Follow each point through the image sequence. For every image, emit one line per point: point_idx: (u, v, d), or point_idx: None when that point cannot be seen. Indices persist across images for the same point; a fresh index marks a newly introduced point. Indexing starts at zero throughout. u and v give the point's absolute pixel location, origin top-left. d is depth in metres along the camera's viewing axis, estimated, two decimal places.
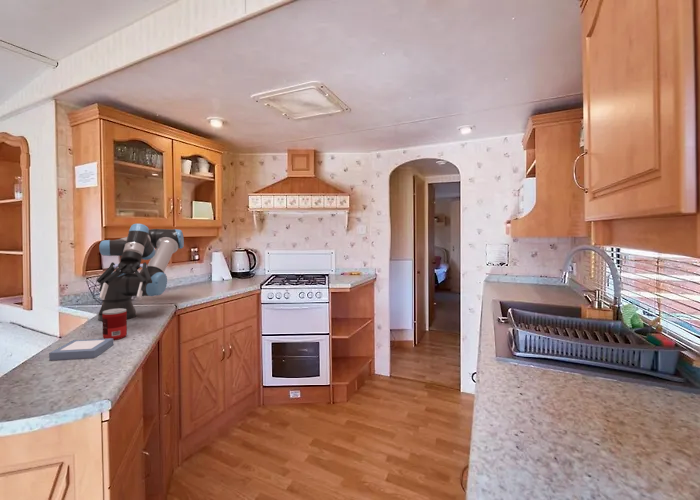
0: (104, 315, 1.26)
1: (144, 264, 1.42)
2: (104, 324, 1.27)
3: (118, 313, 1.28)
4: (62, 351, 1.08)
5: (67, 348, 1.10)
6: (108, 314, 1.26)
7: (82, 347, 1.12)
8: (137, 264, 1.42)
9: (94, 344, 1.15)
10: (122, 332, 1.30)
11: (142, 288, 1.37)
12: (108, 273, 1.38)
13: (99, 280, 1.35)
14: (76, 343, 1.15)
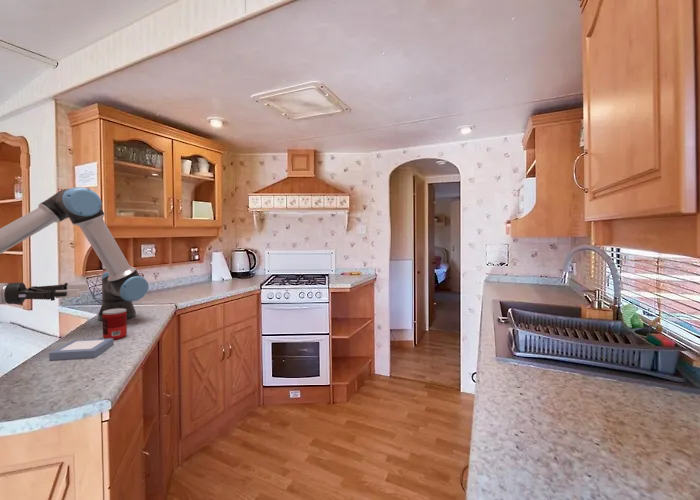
0: (104, 315, 1.26)
1: (23, 299, 1.12)
2: (104, 324, 1.27)
3: (118, 313, 1.28)
4: (62, 351, 1.08)
5: (67, 348, 1.10)
6: (108, 314, 1.26)
7: (82, 347, 1.12)
8: None
9: (94, 344, 1.15)
10: (122, 332, 1.30)
11: (64, 296, 1.16)
12: None
13: None
14: (76, 343, 1.15)
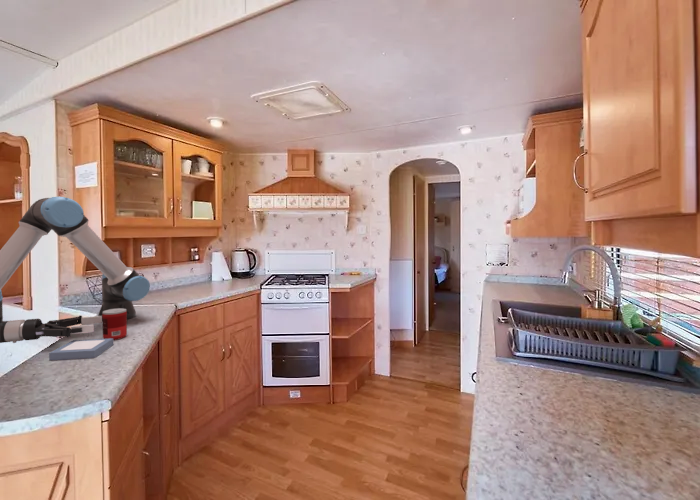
0: (104, 315, 1.26)
1: None
2: (104, 324, 1.27)
3: (118, 313, 1.28)
4: (62, 351, 1.08)
5: (67, 348, 1.10)
6: (108, 314, 1.26)
7: (82, 347, 1.12)
8: None
9: (94, 344, 1.15)
10: (122, 332, 1.30)
11: (80, 331, 1.19)
12: None
13: None
14: (76, 343, 1.15)
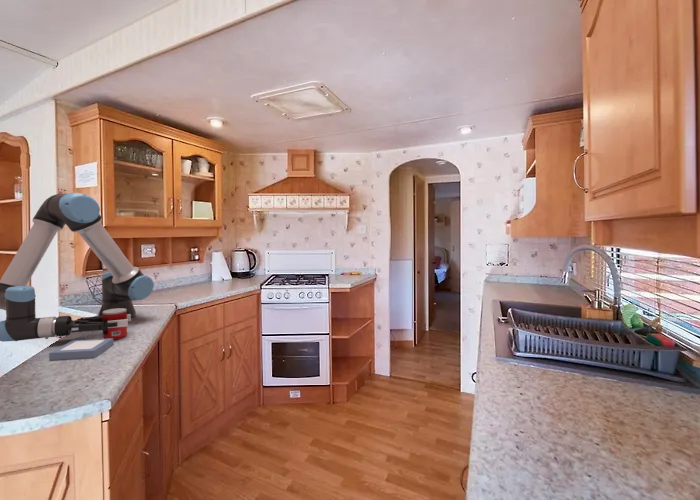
0: (104, 315, 1.26)
1: None
2: None
3: (118, 313, 1.28)
4: (62, 351, 1.08)
5: (67, 348, 1.10)
6: (108, 314, 1.26)
7: (82, 347, 1.12)
8: None
9: (94, 344, 1.15)
10: (122, 332, 1.30)
11: (115, 326, 1.26)
12: None
13: None
14: (76, 343, 1.15)
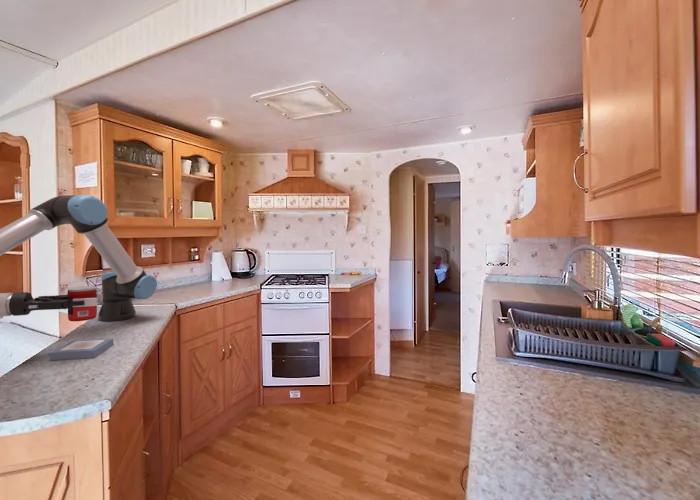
0: (69, 292, 1.10)
1: None
2: None
3: (86, 290, 1.11)
4: (62, 351, 1.08)
5: (67, 348, 1.10)
6: (74, 291, 1.10)
7: (82, 347, 1.12)
8: None
9: (94, 344, 1.15)
10: (91, 313, 1.13)
11: (82, 305, 1.10)
12: None
13: None
14: (76, 343, 1.15)
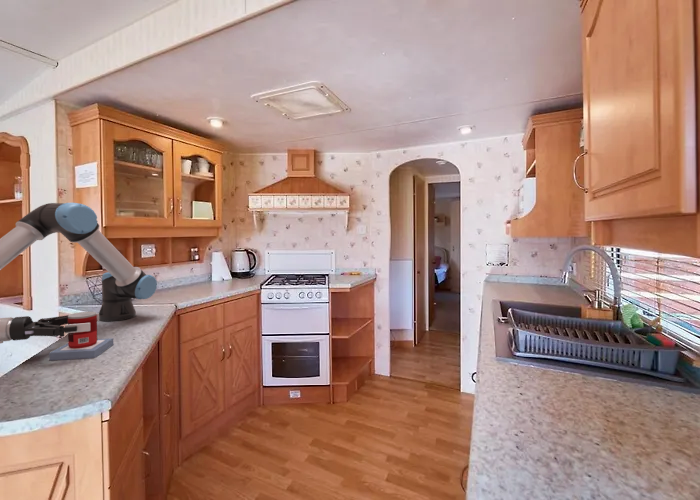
0: (69, 319, 1.10)
1: None
2: None
3: (86, 317, 1.11)
4: (62, 351, 1.08)
5: (67, 348, 1.10)
6: (74, 318, 1.10)
7: None
8: None
9: (94, 344, 1.15)
10: (91, 339, 1.13)
11: (74, 330, 1.07)
12: None
13: None
14: None
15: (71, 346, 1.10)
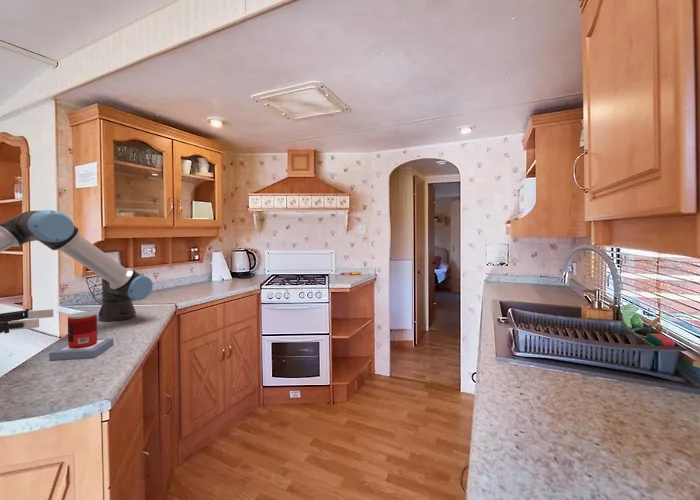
0: (69, 319, 1.10)
1: None
2: (69, 330, 1.10)
3: (86, 317, 1.11)
4: (62, 351, 1.08)
5: (67, 348, 1.10)
6: (74, 318, 1.10)
7: None
8: None
9: (94, 344, 1.15)
10: (91, 339, 1.13)
11: None
12: None
13: None
14: None
15: (71, 346, 1.10)
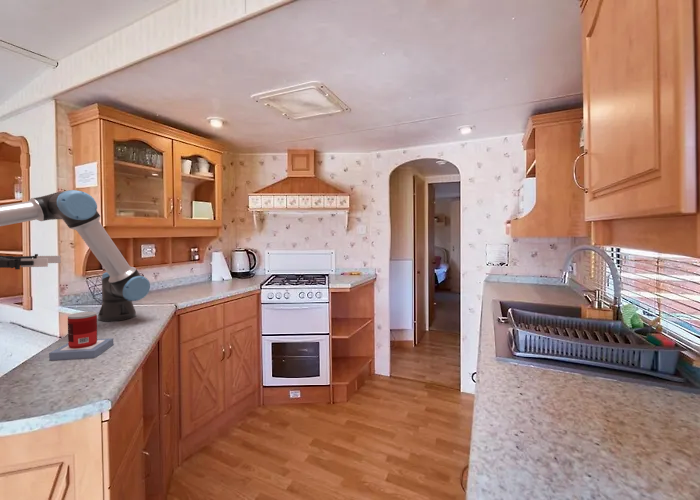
0: (69, 319, 1.10)
1: None
2: (69, 330, 1.10)
3: (86, 317, 1.11)
4: (62, 351, 1.08)
5: (67, 348, 1.10)
6: (74, 318, 1.10)
7: None
8: None
9: (94, 344, 1.15)
10: (91, 339, 1.13)
11: (31, 265, 1.06)
12: None
13: None
14: None
15: (71, 346, 1.10)
